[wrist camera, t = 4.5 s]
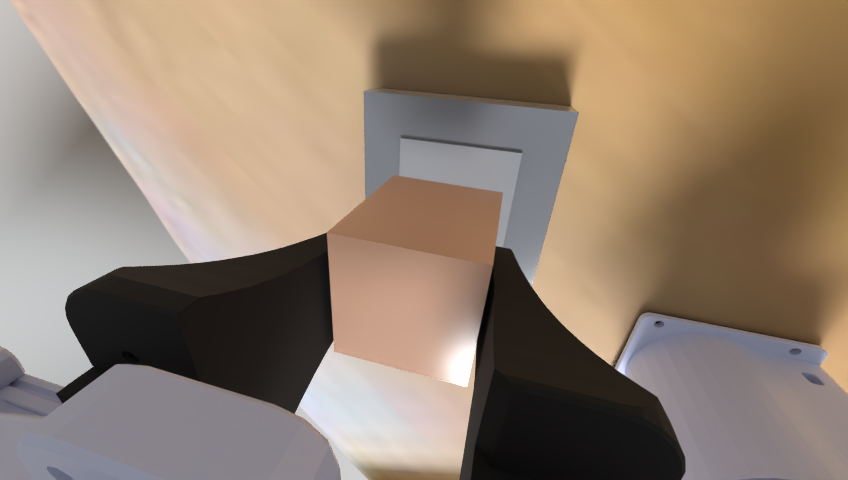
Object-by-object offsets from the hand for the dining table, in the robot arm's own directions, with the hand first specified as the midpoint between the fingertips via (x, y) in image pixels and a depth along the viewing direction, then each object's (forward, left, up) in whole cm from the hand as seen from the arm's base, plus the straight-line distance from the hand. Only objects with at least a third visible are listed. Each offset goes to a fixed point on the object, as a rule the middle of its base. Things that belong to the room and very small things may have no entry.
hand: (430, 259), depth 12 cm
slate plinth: (0, 0, -9) cm, 9 cm away
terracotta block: (0, 0, -2) cm, 2 cm away
